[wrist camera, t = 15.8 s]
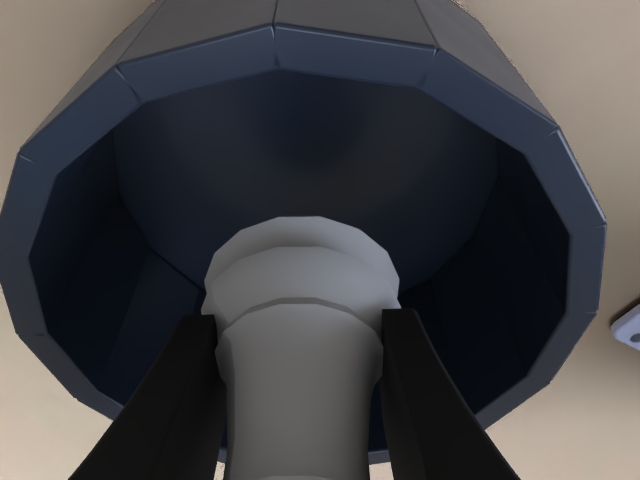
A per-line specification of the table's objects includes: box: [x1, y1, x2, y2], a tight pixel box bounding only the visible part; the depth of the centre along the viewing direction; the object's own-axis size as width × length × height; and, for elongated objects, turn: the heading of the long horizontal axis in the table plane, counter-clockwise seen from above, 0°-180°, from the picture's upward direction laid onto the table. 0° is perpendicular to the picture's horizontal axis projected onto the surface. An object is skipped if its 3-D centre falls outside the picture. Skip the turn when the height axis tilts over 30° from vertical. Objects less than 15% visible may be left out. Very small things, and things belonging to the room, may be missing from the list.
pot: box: [0, 0, 607, 465], centre depth 14 cm, size 12×12×6 cm
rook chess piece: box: [201, 215, 401, 480], centre depth 10 cm, size 4×4×8 cm
